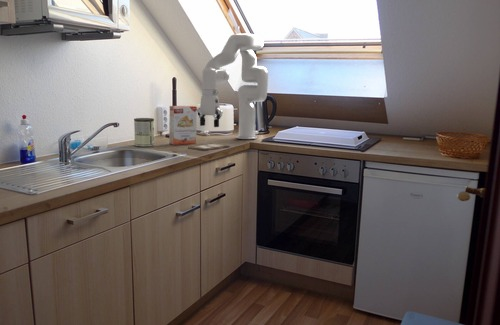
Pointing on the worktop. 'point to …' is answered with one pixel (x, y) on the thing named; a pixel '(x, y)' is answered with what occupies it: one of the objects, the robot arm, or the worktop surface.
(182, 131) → the cracker box
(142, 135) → the coffee can
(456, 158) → the worktop surface
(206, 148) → the walnut board
